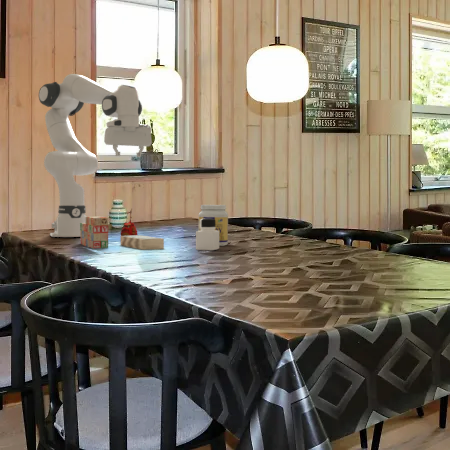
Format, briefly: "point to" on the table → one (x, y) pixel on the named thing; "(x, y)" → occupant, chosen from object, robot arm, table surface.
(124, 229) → the red clay folk toy
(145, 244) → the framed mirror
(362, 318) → the table surface
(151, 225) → the table surface
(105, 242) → the stack of blocks
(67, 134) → the robot arm
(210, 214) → the supplement tub
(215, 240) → the medicine bottle
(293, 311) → the table surface
